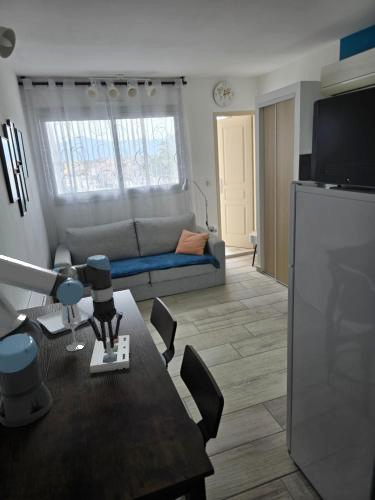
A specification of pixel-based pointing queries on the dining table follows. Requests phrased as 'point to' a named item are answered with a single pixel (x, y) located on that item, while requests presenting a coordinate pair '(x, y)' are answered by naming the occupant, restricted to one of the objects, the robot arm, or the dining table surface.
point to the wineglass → (72, 324)
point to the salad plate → (59, 321)
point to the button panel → (121, 353)
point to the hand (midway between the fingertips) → (110, 355)
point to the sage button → (113, 349)
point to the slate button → (110, 358)
